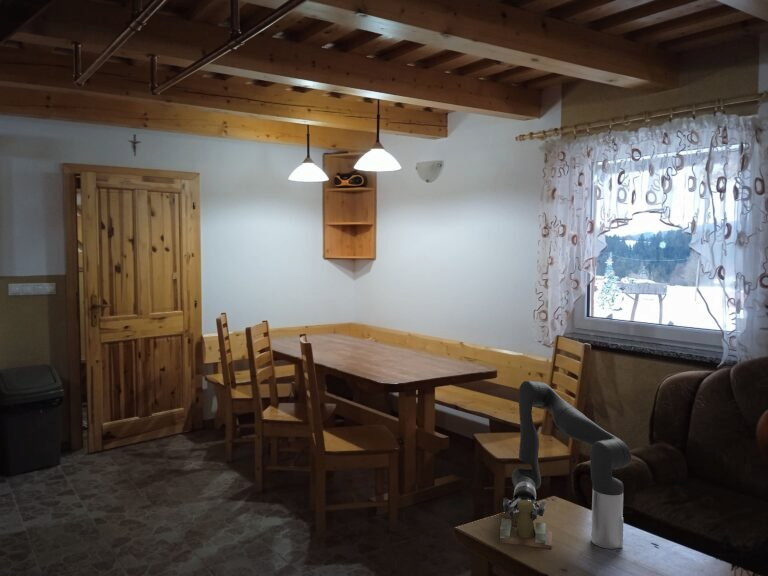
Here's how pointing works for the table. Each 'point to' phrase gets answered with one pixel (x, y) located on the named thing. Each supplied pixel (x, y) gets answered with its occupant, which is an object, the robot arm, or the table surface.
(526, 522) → the cork
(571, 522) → the table surface
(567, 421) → the robot arm
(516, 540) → the endcap cradle
